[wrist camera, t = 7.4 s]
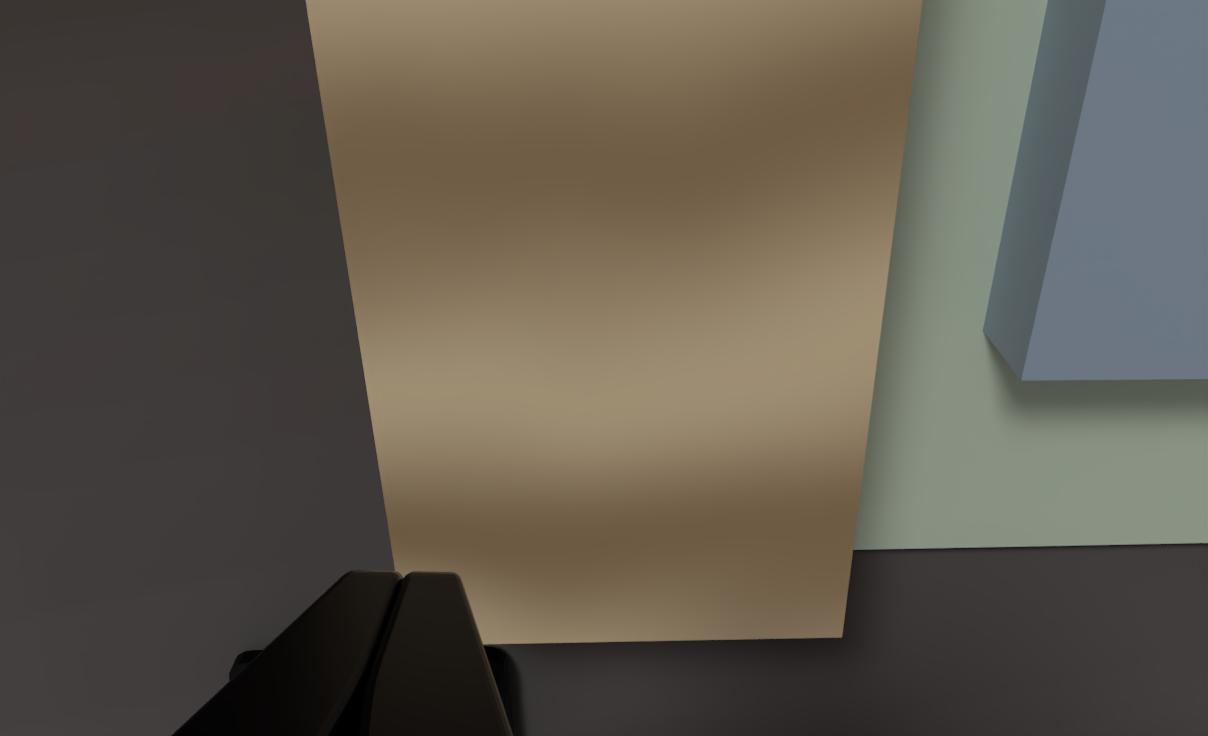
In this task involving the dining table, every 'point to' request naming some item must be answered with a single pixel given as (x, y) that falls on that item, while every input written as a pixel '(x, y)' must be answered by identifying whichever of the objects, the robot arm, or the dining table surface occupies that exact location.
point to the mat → (975, 366)
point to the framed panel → (621, 297)
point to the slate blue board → (1109, 199)
